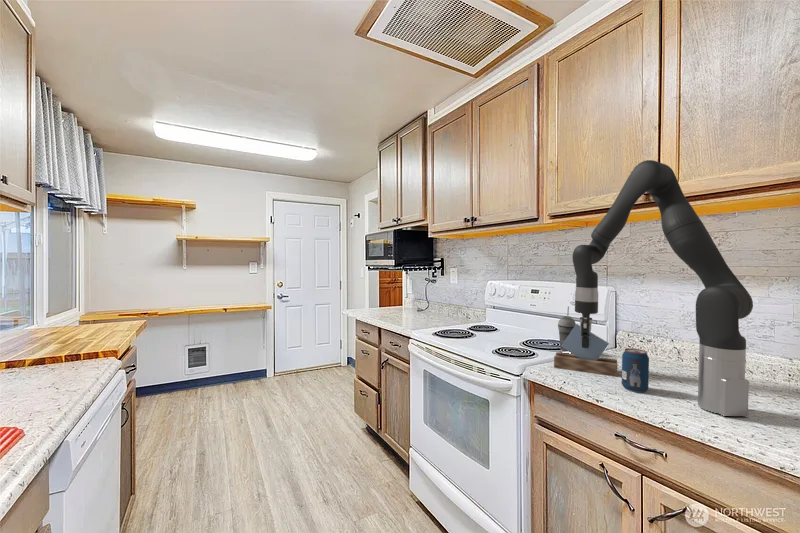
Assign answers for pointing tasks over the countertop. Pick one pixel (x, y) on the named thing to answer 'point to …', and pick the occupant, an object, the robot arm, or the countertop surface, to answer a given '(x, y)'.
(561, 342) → the beverage cup
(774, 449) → the countertop surface
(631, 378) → the soda can
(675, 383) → the countertop surface
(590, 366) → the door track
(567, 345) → the door panel
